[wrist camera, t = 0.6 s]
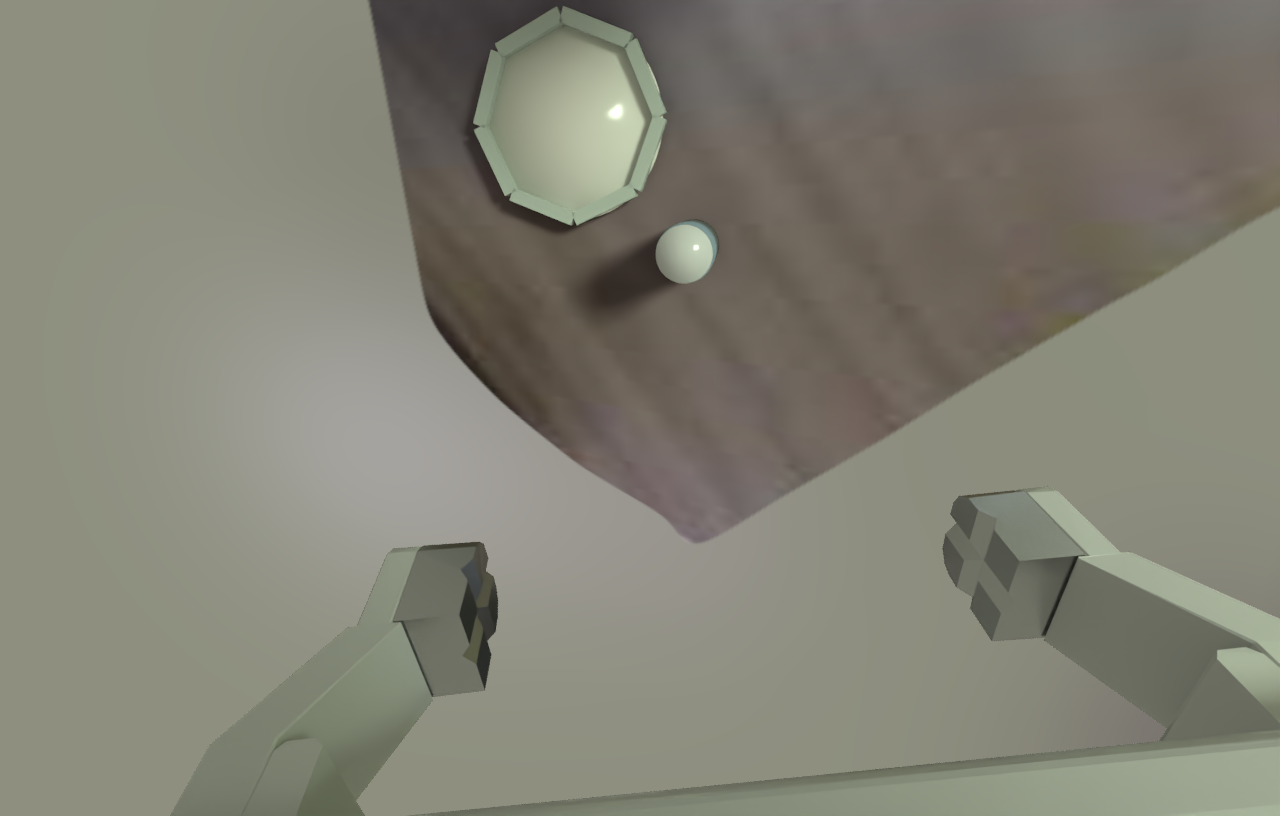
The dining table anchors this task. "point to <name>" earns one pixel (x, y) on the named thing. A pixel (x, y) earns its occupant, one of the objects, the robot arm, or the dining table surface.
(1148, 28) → the dining table surface
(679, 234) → the ball
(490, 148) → the plate
